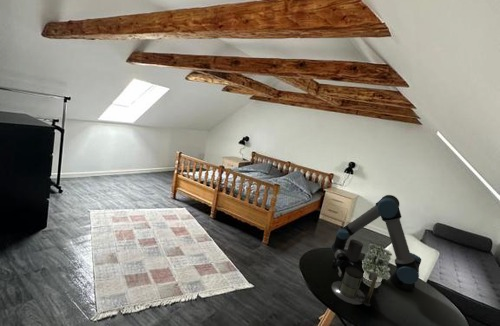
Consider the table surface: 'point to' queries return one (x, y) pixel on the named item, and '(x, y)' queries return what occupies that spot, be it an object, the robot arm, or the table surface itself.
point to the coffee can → (351, 281)
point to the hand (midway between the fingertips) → (351, 277)
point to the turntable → (351, 300)
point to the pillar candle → (354, 250)
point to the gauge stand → (374, 278)
